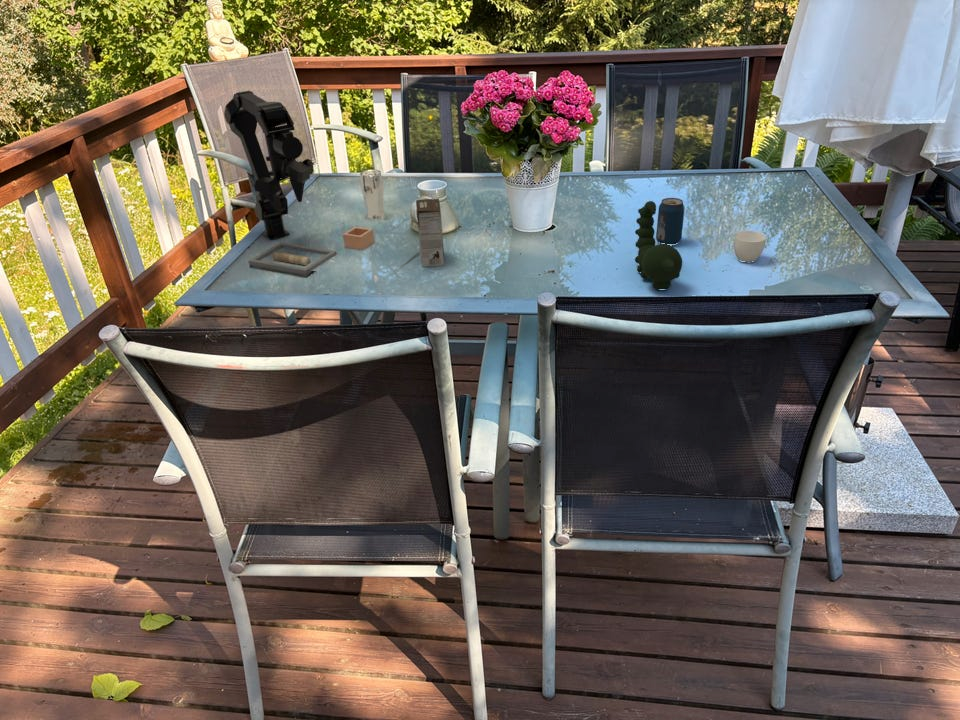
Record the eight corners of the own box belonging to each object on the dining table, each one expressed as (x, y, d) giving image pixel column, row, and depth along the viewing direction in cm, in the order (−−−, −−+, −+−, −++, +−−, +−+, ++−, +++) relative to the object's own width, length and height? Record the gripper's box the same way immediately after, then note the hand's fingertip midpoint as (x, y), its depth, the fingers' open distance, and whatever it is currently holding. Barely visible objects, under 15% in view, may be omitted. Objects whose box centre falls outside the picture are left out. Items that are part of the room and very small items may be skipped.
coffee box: (421, 254, 199) (415, 199, 191) (443, 252, 200) (439, 197, 191) (421, 267, 191) (416, 210, 183) (445, 265, 192) (440, 208, 183)
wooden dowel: (272, 260, 198) (291, 269, 191) (271, 252, 197) (290, 261, 190) (292, 256, 202) (312, 265, 195) (291, 248, 201) (311, 256, 194)
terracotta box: (345, 250, 204) (342, 234, 202) (357, 242, 209) (355, 226, 206) (363, 253, 202) (360, 236, 199) (374, 245, 207) (372, 229, 204)
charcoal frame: (249, 267, 197) (248, 260, 196) (282, 248, 208) (280, 242, 207) (306, 277, 189) (305, 270, 188) (337, 257, 200) (336, 251, 199)
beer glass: (383, 223, 222) (377, 176, 214) (362, 222, 223) (355, 175, 216) (390, 215, 228) (384, 169, 220) (369, 214, 229) (363, 169, 221)
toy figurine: (624, 267, 189) (650, 301, 167) (627, 197, 181) (654, 223, 158) (658, 265, 190) (689, 298, 167) (663, 195, 181) (696, 220, 159)
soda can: (683, 239, 200) (687, 198, 193) (678, 248, 194) (682, 206, 188) (658, 236, 202) (662, 195, 196) (653, 245, 197) (656, 204, 191)
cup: (734, 266, 183) (738, 241, 179) (726, 251, 191) (729, 227, 188) (765, 265, 182) (769, 241, 179) (755, 250, 191) (759, 227, 187)
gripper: (280, 163, 181) (291, 221, 190) (323, 145, 195) (332, 199, 204) (246, 160, 186) (259, 216, 194) (291, 142, 200) (301, 195, 208)
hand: (289, 207), depth 200 cm, fingers open, 9 cm apart
